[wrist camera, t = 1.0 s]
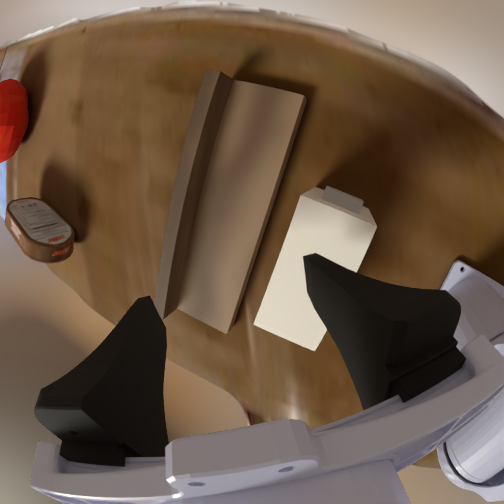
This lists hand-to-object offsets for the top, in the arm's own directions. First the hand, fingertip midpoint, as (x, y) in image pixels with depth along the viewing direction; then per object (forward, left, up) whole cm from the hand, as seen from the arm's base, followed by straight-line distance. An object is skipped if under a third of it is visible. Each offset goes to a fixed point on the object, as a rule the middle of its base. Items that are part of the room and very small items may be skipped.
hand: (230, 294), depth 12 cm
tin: (+32, +10, -12) cm, 36 cm away
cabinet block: (-3, 0, -12) cm, 12 cm away
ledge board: (+5, 0, -12) cm, 13 cm away
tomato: (+51, -4, -12) cm, 52 cm away
